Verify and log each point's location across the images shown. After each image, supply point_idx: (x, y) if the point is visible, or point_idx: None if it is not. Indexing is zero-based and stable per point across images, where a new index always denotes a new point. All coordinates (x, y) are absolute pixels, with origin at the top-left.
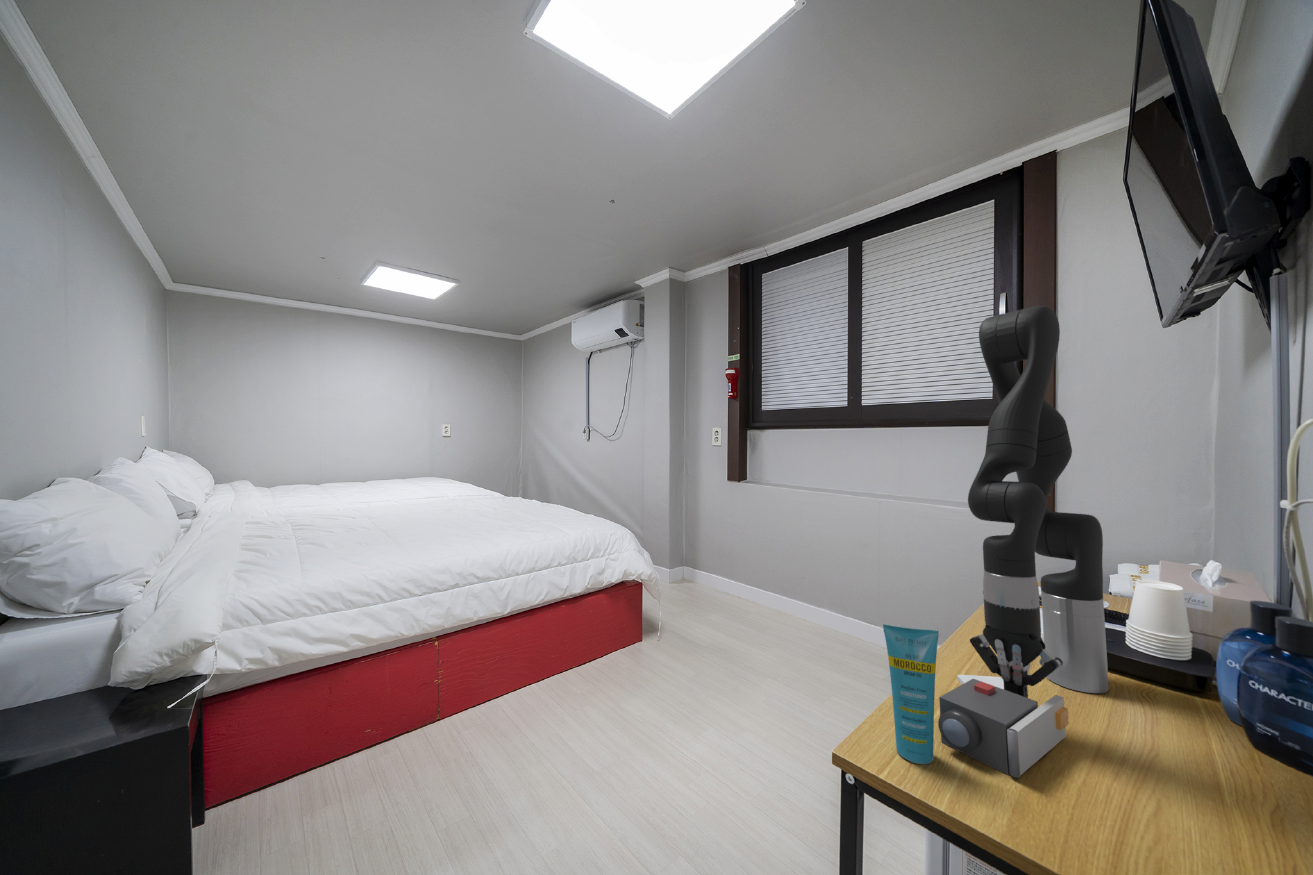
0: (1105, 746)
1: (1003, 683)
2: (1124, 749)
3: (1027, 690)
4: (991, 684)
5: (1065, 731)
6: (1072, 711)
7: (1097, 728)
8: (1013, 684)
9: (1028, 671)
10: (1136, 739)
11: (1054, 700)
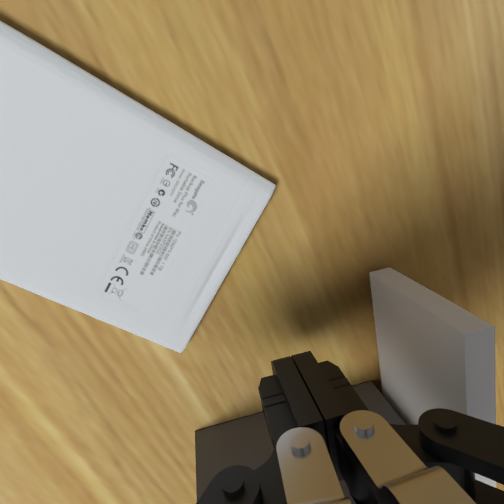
0: (458, 186)
1: (14, 70)
2: (493, 146)
3: (358, 396)
4: (5, 146)
5: (398, 273)
6: (296, 4)
7: (403, 72)
8: (338, 478)
9: (419, 460)
10: (497, 24)
11: (483, 395)
